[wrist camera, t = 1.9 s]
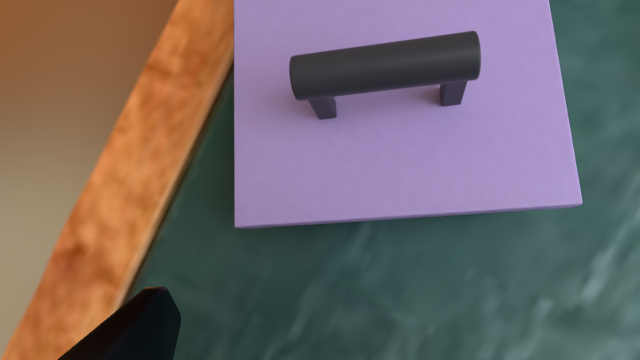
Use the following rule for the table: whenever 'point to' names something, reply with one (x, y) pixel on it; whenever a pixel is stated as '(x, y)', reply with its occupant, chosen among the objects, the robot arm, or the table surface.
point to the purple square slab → (397, 111)
